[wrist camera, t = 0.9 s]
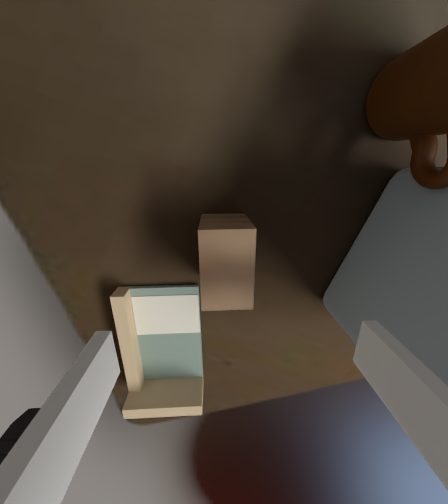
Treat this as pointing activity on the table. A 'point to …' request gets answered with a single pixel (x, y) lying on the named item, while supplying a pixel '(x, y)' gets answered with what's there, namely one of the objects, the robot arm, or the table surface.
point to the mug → (415, 105)
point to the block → (226, 261)
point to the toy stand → (160, 349)
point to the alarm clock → (399, 272)
